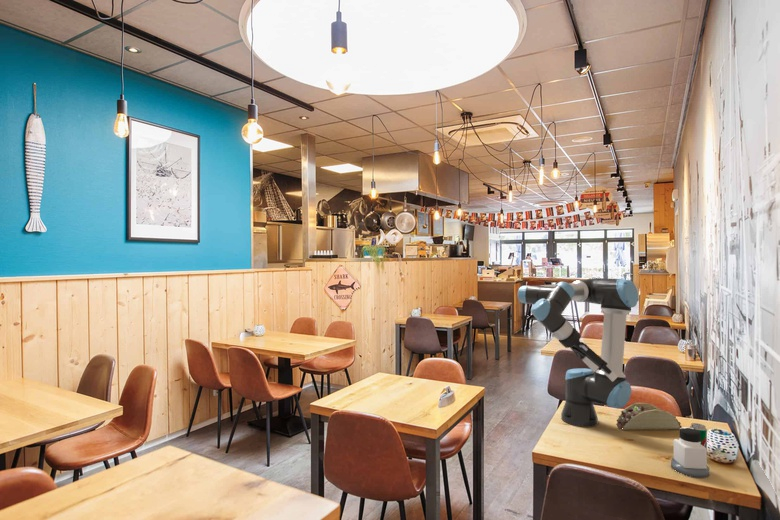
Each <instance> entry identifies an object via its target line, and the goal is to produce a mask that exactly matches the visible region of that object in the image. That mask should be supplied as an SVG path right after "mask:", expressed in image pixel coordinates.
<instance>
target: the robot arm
mask: <svg viewBox="0 0 780 520" xmlns="http://www.w3.org/2000/svg"><path fill="white" fill-rule="evenodd" d="M638 292H639V291H638V289H637V286H636V285H635V283H634V281H631V280H630V279H626V278H625V279H623V278H600V277H597V278H596V277H593V278H588V279H580V280H575V281H573V282H571V283H568V282H567V281H559V282H557V283H554V284H543V285H542V284H541V285H521V286H520V287H519V288H518V291H517V299H518V301H519V302H520V303H522V304H526V305H532V307H531V308H530V312H531V314H532V315H533V317H534V318H535V319H536V320H537V321H538V322H539V323H541V325H542V326H543V327H545V329H546V330H547V331H548V332H549V333H550V334H551V337H552V338H555V339H556V340H558V342H559V343H560V344H561V345H562V347H564V348H565V349H568V348H570V350H571V351H572V352H573V353H574V354H575V356H576V357H578V358H579V360H581V361H583V363H584V364H585V365H586V366H587V367H588V368H584V367H583V368H571V369H567V371H566V372H565V379H564V380H565V402H564V406H563V408H562V410H561V420H562V421H563V422H565V423H566V424H570V425H573V426H577V427H584V428H585V427H586V428H587V427H594V426H597V425H598V424H599V418H598V415H597V412H596V407H595V406H594V403H597V404H600V405H603V406H606V407H608V408H614V409H622V408H624V407H625V406H626V405H627V403H629V401H630V399H631V395H632V387H631V384H630V383H629V381H626V379H627V376H626V375H625V374H624V372H623V366H624V365H623V364H624V353H625V352H624V351H625V343H626V342H625V340H626V329H627V328H626V327H627V316H628V315H629V314H630V313H631V312H632V308H634V307H636V306H637V305H638V303H639V293H638ZM571 301H574V302H575V303H590V304H596V305H600V309H601V311H603V325H602V335H601V349H600V356H599V355H598V354H597V353H596V352H595V351H594V350H593V349H591V348H590V347H589V346H588V345H587V344H586V343H585V342H584V341H581V340H580V339H581V335H582V334H581V333H580V332H579V331H578V330H577V329H576V328H575V327H574V326H573V325H572V323H570V322H569V321H568V319H566V318H565V317H564V315H562V314H563V312H564V311H565V309H567V307H568V306H569V304H570V303H571Z"/></svg>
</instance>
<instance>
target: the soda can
mask: <svg viewBox="0 0 780 520" xmlns="http://www.w3.org/2000/svg"><path fill="white" fill-rule="evenodd" d="M689 428H693V429H696V430H698V431H699V432H700V433H701V445H703V446H704V447H705V448H707V449H708V447H707V445H708V429H707V428H706V425H704V424H702V423H697V422H692V423H691V424H690V426H689Z"/></svg>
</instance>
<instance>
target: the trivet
mask: <svg viewBox="0 0 780 520" xmlns="http://www.w3.org/2000/svg"><path fill="white" fill-rule="evenodd" d="M670 468H671V469H672V470H673V469H674V470H676V471H677V472H676V471H675V472H676V473H678V472H679V474H680V473H682V474H681V475H683V474H684V475H683V476H686V475H687V476H686V477H689V476H691V478H696V479H705V478H708V477H710V473H711V472H710V467H709V465H707V469H691V468H684V467H683V466H682V465H681V464H679V463H678V462H677V461H676V460H675V459H674V457H673V458H671V459H670Z"/></svg>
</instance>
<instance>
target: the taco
mask: <svg viewBox="0 0 780 520" xmlns="http://www.w3.org/2000/svg"><path fill="white" fill-rule="evenodd" d="M620 412H621V413H620V415H618V418H617V419H616V424H615V425H616V426H617V429H618V428H619V429H618V430H620V429H621V430H620V431H641V430H642V431H649V430H651V431H652V430H656V431H658V430H661V431H662V430H664V431H665V430H667V429H671V430H672V429H673V430H680V428H683V426H682V424H681V422H680V421H679V420H678V419H677V416H676V415H673V413H672V412H669V411H667V410H663V409H662V408H658V407H657V406H655V405H654V404H651V403H646V402H635V403H633V404H631V405H629V406H626V407H625V408H624V409H622V410H621V411H620ZM622 428H623V429H622Z"/></svg>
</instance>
